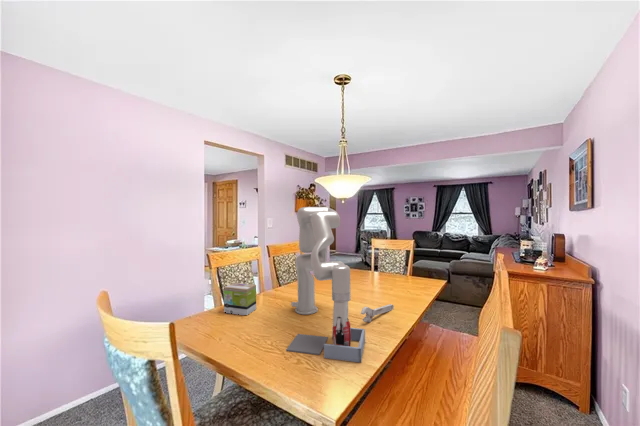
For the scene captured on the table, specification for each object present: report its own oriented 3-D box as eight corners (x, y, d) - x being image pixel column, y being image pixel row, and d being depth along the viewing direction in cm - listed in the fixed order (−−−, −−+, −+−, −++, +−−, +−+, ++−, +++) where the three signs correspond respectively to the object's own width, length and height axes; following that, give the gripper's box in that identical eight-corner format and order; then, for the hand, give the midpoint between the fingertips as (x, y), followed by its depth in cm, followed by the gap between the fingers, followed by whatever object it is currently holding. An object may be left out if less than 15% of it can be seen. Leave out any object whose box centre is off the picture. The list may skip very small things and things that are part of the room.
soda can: (340, 342, 114) (339, 314, 114) (354, 347, 110) (353, 318, 110) (329, 349, 109) (329, 319, 109) (344, 355, 105) (343, 324, 104)
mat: (286, 350, 108) (286, 349, 108) (297, 335, 122) (297, 333, 122) (319, 355, 105) (319, 353, 105) (327, 338, 118) (327, 336, 118)
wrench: (393, 314, 151) (363, 325, 129) (390, 313, 152) (360, 324, 131) (394, 299, 152) (364, 308, 130) (391, 299, 153) (360, 307, 131)
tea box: (223, 313, 149) (222, 286, 149) (234, 307, 158) (233, 282, 158) (247, 316, 144) (246, 288, 144) (257, 309, 154) (256, 283, 154)
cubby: (324, 357, 103) (323, 344, 103) (333, 337, 119) (332, 325, 119) (360, 362, 99) (360, 349, 99) (365, 340, 116) (364, 329, 116)
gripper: (336, 289, 119) (336, 329, 119) (327, 302, 102) (328, 349, 102) (353, 290, 117) (354, 330, 117) (347, 303, 100) (347, 351, 100)
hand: (341, 339), depth 109 cm, fingers open, 7 cm apart
